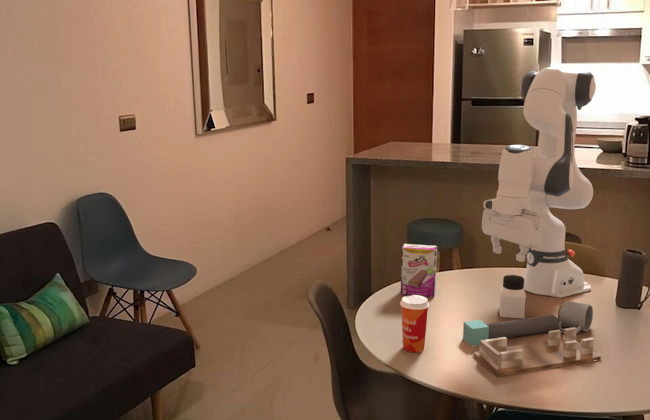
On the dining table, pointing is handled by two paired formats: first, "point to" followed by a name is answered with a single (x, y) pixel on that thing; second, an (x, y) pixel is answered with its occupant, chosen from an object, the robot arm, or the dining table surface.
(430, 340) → the dining table surface
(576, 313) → the ceramic mug
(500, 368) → the wooden cradle
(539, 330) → the grey and teal rod
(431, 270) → the candy bar box
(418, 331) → the paper cup
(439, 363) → the dining table surface
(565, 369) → the dining table surface
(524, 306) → the medicine bottle
